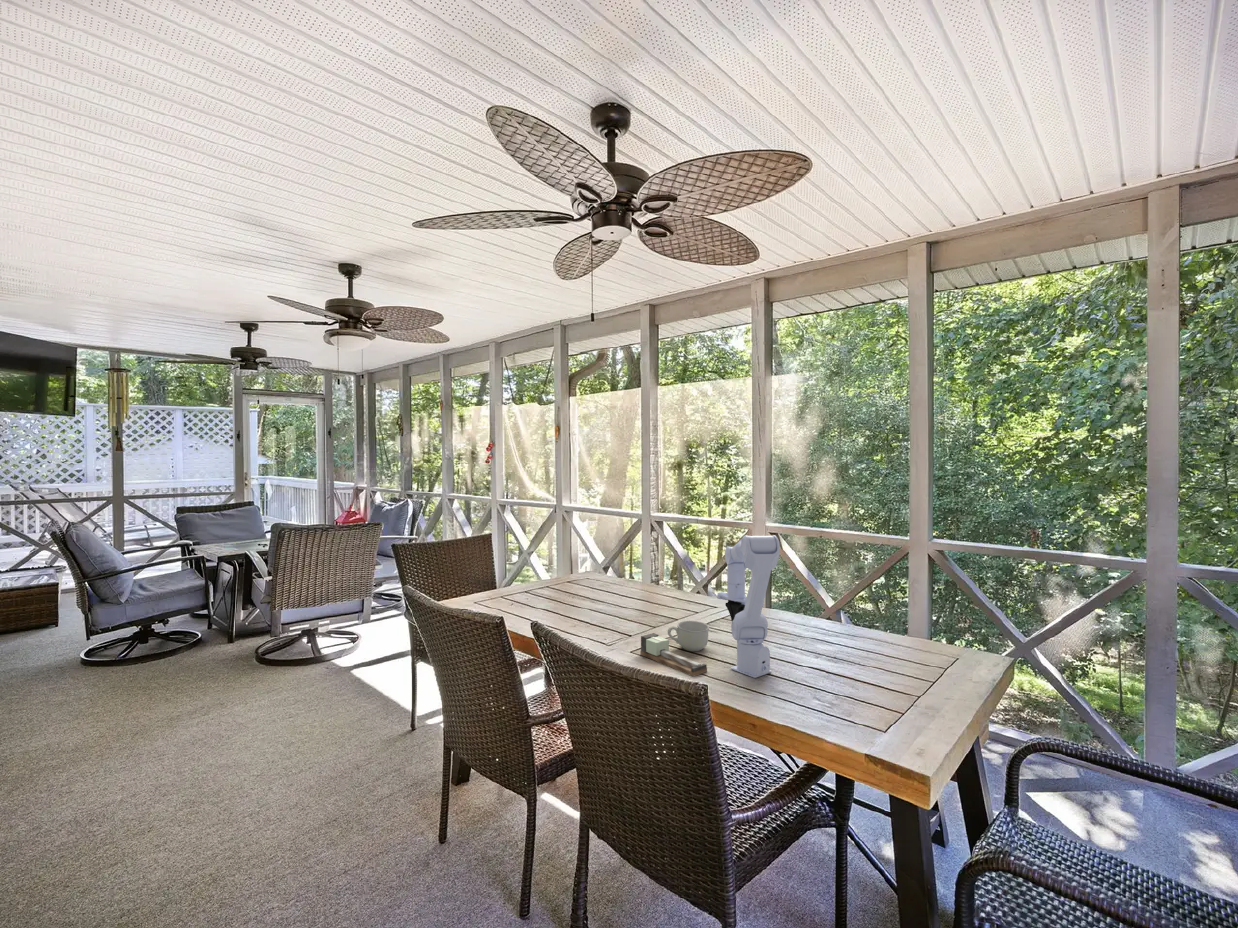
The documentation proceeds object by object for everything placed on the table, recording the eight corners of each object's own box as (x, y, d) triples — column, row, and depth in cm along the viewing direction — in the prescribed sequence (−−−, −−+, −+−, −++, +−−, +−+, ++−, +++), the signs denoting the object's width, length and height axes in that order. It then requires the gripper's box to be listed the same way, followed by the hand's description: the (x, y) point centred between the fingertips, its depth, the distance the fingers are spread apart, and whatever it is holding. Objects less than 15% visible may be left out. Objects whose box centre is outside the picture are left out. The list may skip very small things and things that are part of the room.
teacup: (708, 643, 201) (708, 621, 201) (709, 654, 190) (709, 630, 190) (667, 642, 203) (667, 619, 203) (667, 652, 192) (667, 628, 192)
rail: (707, 671, 175) (707, 651, 175) (692, 676, 171) (693, 655, 171) (654, 650, 194) (654, 632, 194) (640, 654, 190) (640, 636, 190)
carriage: (668, 652, 188) (668, 639, 188) (656, 655, 184) (656, 642, 184) (658, 648, 192) (658, 635, 191) (646, 651, 188) (646, 638, 188)
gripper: (761, 585, 187) (761, 627, 187) (727, 577, 198) (727, 617, 199) (747, 588, 183) (747, 631, 183) (713, 580, 194) (713, 620, 194)
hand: (735, 624), depth 190 cm, fingers closed
